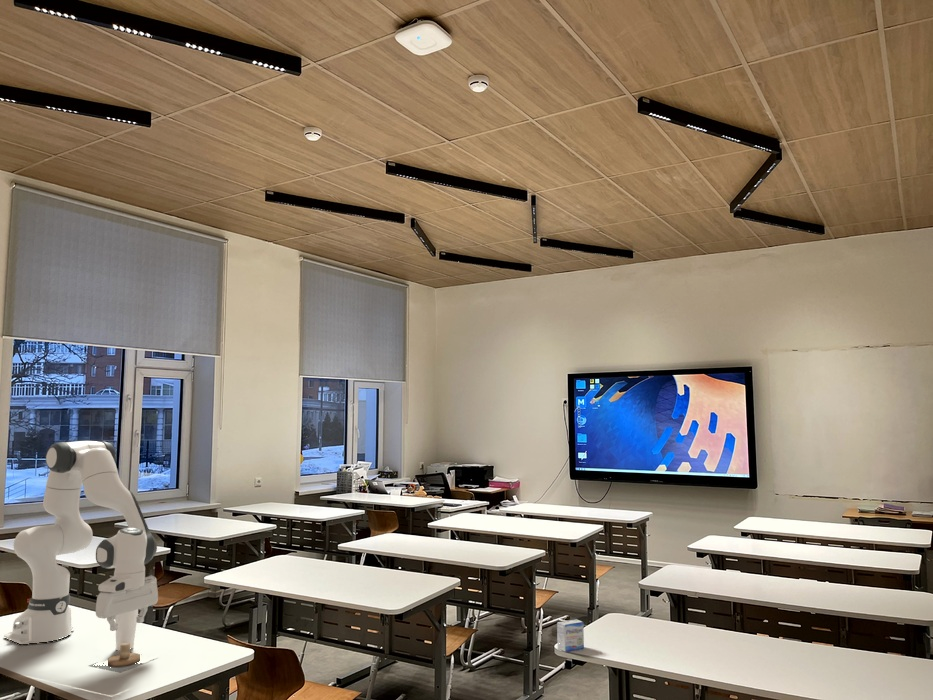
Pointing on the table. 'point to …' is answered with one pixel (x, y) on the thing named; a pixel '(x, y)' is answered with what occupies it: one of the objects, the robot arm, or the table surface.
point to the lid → (124, 657)
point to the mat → (117, 669)
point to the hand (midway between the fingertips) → (127, 626)
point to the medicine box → (570, 635)
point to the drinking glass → (126, 628)
